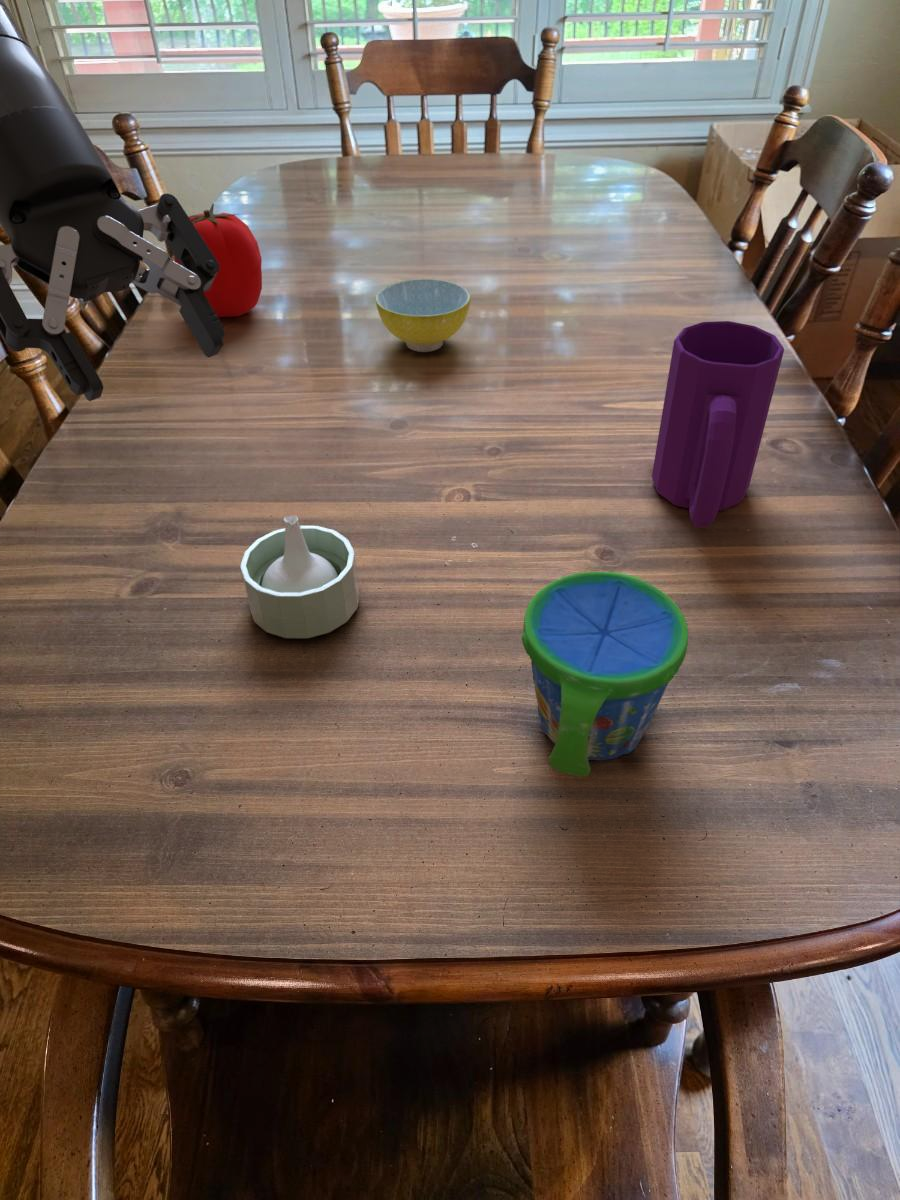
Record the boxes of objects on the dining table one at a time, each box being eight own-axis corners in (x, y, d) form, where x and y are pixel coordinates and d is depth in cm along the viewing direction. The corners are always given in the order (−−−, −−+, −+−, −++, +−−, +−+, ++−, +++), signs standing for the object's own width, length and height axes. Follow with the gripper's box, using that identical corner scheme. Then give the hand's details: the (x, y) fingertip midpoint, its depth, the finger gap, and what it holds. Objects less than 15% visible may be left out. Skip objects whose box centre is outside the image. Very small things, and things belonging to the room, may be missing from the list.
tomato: (236, 338, 111) (215, 232, 102) (164, 319, 116) (139, 216, 107) (291, 305, 118) (277, 203, 110) (222, 288, 123) (203, 190, 114)
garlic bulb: (268, 632, 70) (251, 554, 64) (262, 582, 74) (245, 506, 69) (346, 618, 71) (335, 541, 65) (335, 570, 75) (324, 494, 70)
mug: (746, 466, 87) (781, 323, 77) (751, 563, 76) (793, 410, 66) (653, 457, 89) (676, 315, 79) (644, 550, 77) (670, 399, 67)
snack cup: (627, 837, 56) (648, 735, 49) (479, 778, 59) (479, 675, 52) (692, 676, 66) (717, 574, 59) (562, 634, 70) (572, 533, 63)
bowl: (437, 317, 115) (436, 270, 111) (487, 349, 107) (488, 300, 103) (362, 339, 110) (358, 291, 106) (409, 374, 103) (407, 324, 99)
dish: (293, 659, 68) (284, 612, 65) (230, 605, 73) (218, 559, 70) (381, 605, 73) (377, 559, 69) (316, 557, 77) (309, 511, 74)
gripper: (-100, 125, 48) (58, 385, 49) (136, 83, 55) (268, 311, 56) (-92, 206, 54) (48, 434, 55) (118, 159, 61) (238, 361, 62)
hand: (159, 372), depth 56 cm, fingers open, 8 cm apart
